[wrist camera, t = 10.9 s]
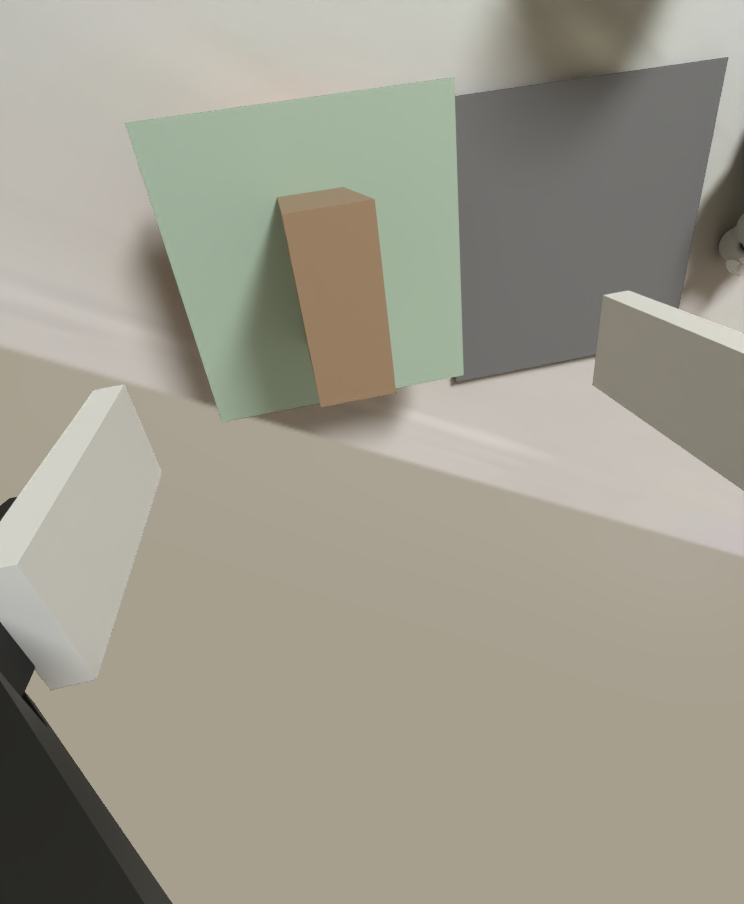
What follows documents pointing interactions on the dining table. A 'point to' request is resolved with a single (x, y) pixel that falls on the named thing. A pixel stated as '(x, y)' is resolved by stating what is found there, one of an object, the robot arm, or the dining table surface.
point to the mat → (576, 205)
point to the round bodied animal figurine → (733, 247)
